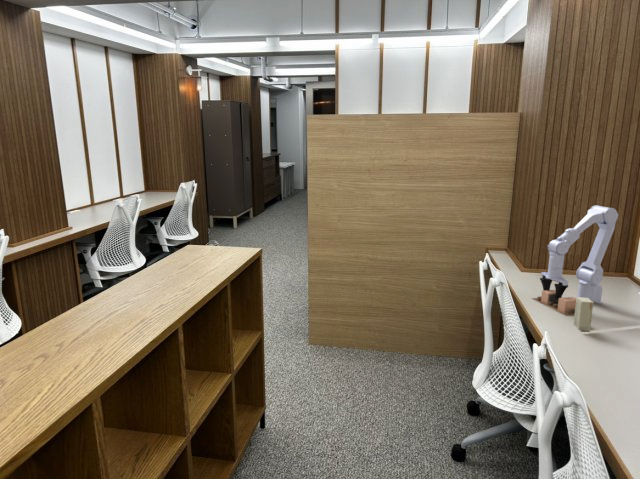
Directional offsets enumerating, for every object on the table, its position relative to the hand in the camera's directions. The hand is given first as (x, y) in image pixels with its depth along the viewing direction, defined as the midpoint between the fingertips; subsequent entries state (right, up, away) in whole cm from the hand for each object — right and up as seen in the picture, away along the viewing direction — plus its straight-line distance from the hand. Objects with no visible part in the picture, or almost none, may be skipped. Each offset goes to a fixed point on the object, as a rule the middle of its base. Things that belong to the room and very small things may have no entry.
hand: (552, 296), depth 211 cm
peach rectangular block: (0, -3, +1) cm, 3 cm away
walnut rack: (+2, -5, -3) cm, 6 cm away
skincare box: (-1, -10, -26) cm, 28 cm away
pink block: (+2, -5, -9) cm, 10 cm away
